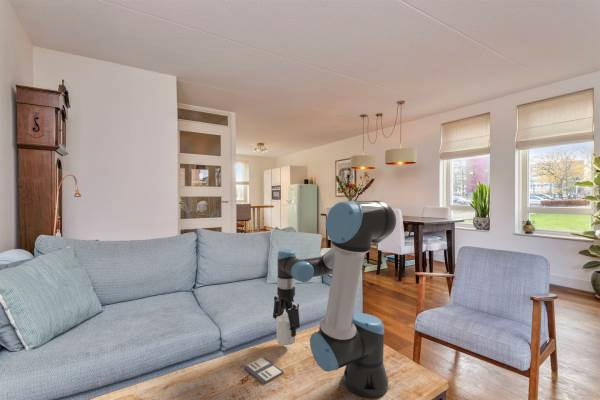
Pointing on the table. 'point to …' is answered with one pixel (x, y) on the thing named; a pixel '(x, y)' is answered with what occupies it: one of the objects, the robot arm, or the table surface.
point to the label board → (263, 370)
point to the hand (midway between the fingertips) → (285, 339)
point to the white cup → (283, 329)
